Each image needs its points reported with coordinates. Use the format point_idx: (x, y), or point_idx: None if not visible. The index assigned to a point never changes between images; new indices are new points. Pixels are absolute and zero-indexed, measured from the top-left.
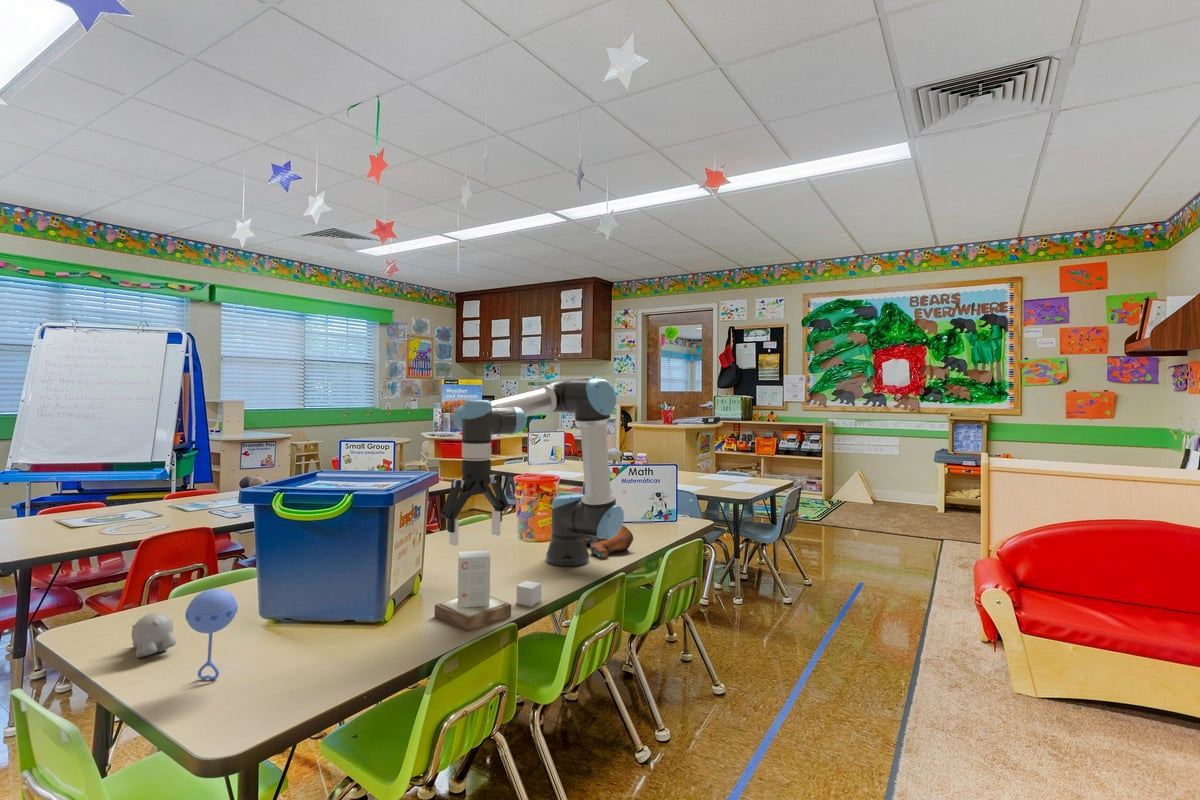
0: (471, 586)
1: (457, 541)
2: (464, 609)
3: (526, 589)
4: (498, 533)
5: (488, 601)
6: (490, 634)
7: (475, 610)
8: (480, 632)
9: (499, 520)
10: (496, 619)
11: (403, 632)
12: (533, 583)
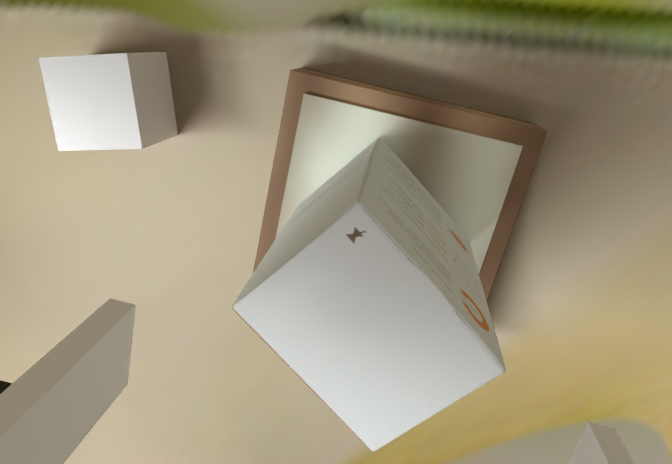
0: (439, 229)
1: (610, 448)
2: (465, 210)
3: (136, 87)
4: (119, 313)
5: (381, 143)
6: (516, 15)
7: (451, 160)
8: (517, 69)
9: (27, 385)
10: (381, 87)
11: (645, 330)
12: (63, 95)
